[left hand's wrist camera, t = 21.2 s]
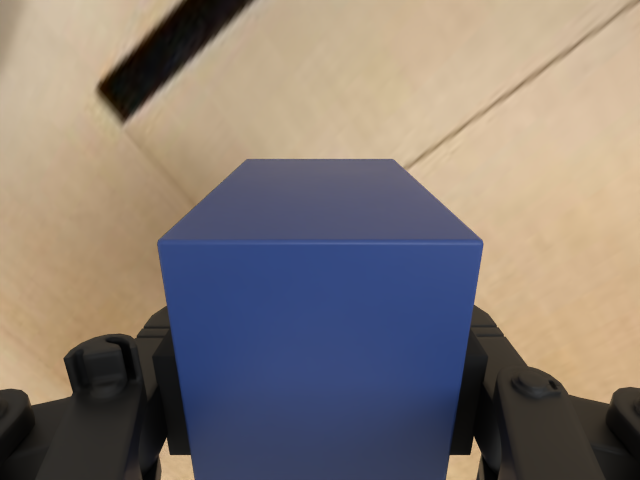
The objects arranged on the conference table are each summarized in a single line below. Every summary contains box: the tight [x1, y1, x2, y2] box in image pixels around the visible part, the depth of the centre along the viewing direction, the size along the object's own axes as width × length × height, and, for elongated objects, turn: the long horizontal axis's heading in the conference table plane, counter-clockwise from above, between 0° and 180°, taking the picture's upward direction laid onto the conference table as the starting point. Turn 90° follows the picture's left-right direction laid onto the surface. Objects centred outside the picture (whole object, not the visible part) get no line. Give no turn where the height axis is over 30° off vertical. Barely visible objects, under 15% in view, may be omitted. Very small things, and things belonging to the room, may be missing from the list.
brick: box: [157, 159, 483, 480], centre depth 12 cm, size 5×8×8 cm, turn 0°
